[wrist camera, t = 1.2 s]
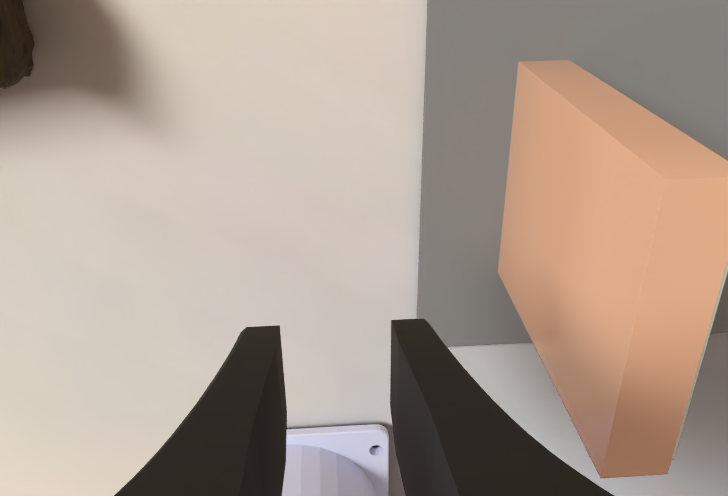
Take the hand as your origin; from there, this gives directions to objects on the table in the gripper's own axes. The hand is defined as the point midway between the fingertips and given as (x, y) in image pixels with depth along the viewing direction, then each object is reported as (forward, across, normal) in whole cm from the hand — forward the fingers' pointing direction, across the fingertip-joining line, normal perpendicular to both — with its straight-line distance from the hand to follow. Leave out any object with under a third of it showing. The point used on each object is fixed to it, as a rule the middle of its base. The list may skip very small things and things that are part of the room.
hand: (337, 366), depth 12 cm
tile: (+9, -6, 0) cm, 11 cm away
